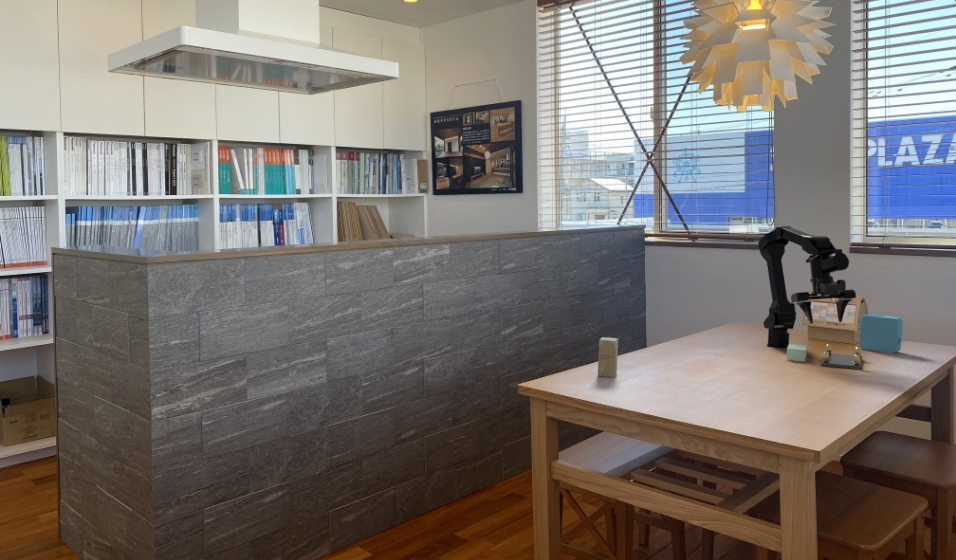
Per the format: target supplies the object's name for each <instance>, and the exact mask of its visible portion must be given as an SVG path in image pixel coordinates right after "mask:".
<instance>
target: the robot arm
mask: <svg viewBox="0 0 956 560" xmlns="http://www.w3.org/2000/svg"><path fill="white" fill-rule="evenodd" d="M790 242H791V243H793V244H795V245H797V246H800V247H801V249H802V250H803V252H805V253H807V254H808V255H809V257H808V258H807V259H806V260H805V263H806V264H809V265H810V276H811V277H810V283H811V286H812V291H811V293H810V292H809V291H803V292H802V291H800V292H795V293H792V294H791V296H790V301H791V302H790V301H789V299H788V294H787V288H786V281H785V275H784V268H783V263H782V259H783V256H784V255H785V252H786V250H785V248H786V246H787V245H788V244H789V243H790ZM758 249H759V253H760V256H761V257H762V258H763V260H765V262H766V265H767V273H768V278H769V287H770V293H771V299H772V301H771V303H770V306H769V307H768V316H767V317H766V318H765V319H764V321H763V328H764V329H767V330H768V331H767V332H768V333H767V344H766V346H767V347H773V348H775V347H776V348H785V349H787V348H788V345H789V343H791V342H790V339H791V338H790V337H791V336H790V335H791V332H789V330H794V328H795V327H794V326H795V322H796V320H797V311H796V306H798V307H800V309H801V310H802V312H803V314H804V315H805V317H806V318H807V320H808V322H809V323H810V325H812V324H813V322H814V319H813V314H812V307H811V306H812V300H826V299H829V300H830V299H837V300H836V301H835V304H836V313H837V314H836V315H837V320H838V322H839V323H842V322H843V318H844V314H845V312H846V307H847V305H848V304H849V303H850V302H852V301H853V299H857V292H856V291H855V290H854V289H846V288H847V284H846V280H845V279H837V280H836V281H835V280H834V278H833V276H832V275H831V273H835V272H841V271H844V270H847V269H848V268H849V265H850V260H849V257H848V256H847V255H846V254H845V253H844V252H843V249H842V248H836V247H835V245H834V244H833V242H832V241H831V239H830V237H828V236H824V235H813V234H809V233H806V232H803V231H801V230H799V229H796V228H793V226H790V225H779V226H777V227H776V228H774V229H773V230H771V231H769V232H767V233H765V234H764V235H763V236H762V237H761V238H760V239H759V241H758Z"/></svg>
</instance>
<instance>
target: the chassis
mask: <svg viewBox="0 0 956 560" xmlns="http://www.w3.org/2000/svg"><path fill="white" fill-rule="evenodd" d="M832 346H833V345H832V344H826V347H825V351H823V353H822V355H823V356H822V361H821V362H820V365H821V366H822V367H831V368H839V369H840V368H842V369H851V370H859V371H860V370H861V367H862V361H863V356H862V348H861V347H860V346H856V347H855V354H844V353H832V349H833V347H832Z"/></svg>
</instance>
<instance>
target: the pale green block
mask: <svg viewBox="0 0 956 560" xmlns="http://www.w3.org/2000/svg"><path fill="white" fill-rule="evenodd" d="M807 354H808V344H804V343H803V344H802V343H801V344H800V343H793V342H792V343H791V342H789V345H788V346H787V347H786V361H792V360H793V362H803V361H804V362H806V360H807ZM805 359H806V360H805Z"/></svg>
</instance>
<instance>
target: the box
mask: <svg viewBox="0 0 956 560" xmlns="http://www.w3.org/2000/svg"><path fill="white" fill-rule="evenodd" d="M598 344H599V345H598V363H597V364H598V365H597V376H598V377H605V378H615V377H616V376H617V374H618V352H619V351H618V349H619V338H615V337H606V336H605V337H604V336H602V337H601V338H599V342H598Z"/></svg>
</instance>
